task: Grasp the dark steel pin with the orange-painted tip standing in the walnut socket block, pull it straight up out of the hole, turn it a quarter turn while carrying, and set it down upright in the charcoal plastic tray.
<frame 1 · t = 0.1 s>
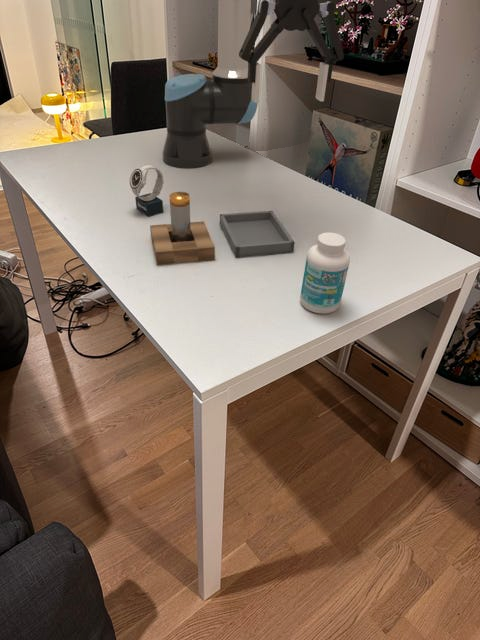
hand: (287, 100, 92), 28 cm above the table, fingers open, 13 cm apart
watch: (149, 211, 114), on the table
pill bottle: (319, 304, 86), on the table
tray: (254, 237, 105), on the table
pin: (180, 223, 96), in the socket block
socket block: (181, 248, 100), on the table
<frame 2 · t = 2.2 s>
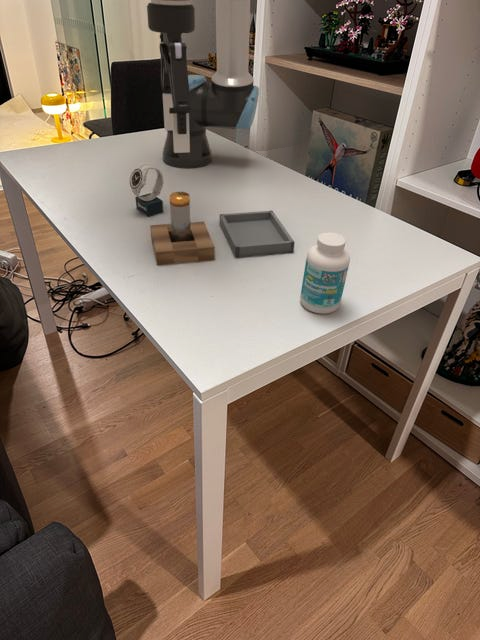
hand: (176, 140, 86), 23 cm above the table, fingers open, 13 cm apart
nothing on the table moved.
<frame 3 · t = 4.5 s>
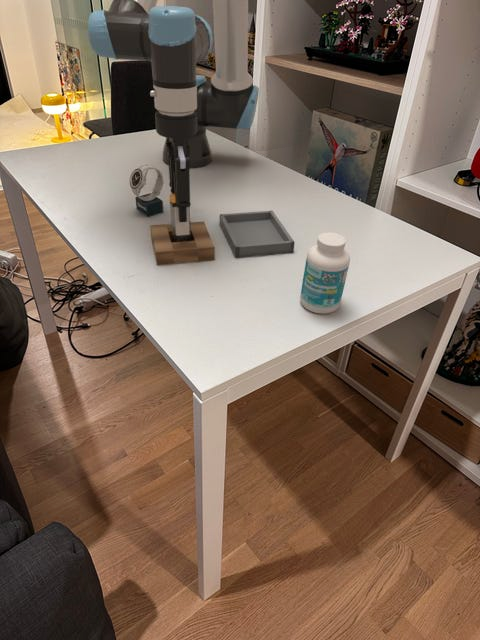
hand: (181, 228, 97), 5 cm above the table, fingers closed on pin, 4 cm apart
pin: (180, 223, 96), in the socket block, touching gripper
everything else where it was.
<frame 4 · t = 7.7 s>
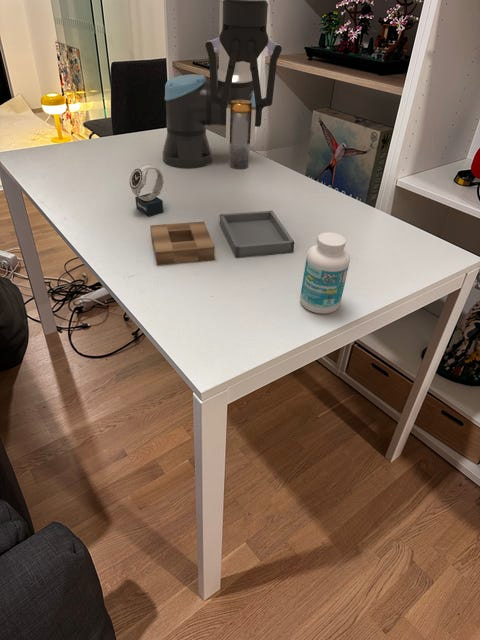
hand: (240, 142, 91), 21 cm above the table, fingers closed on pin, 4 cm apart
pin: (240, 135, 90), point 23 cm above the table, touching gripper
everything else where it was.
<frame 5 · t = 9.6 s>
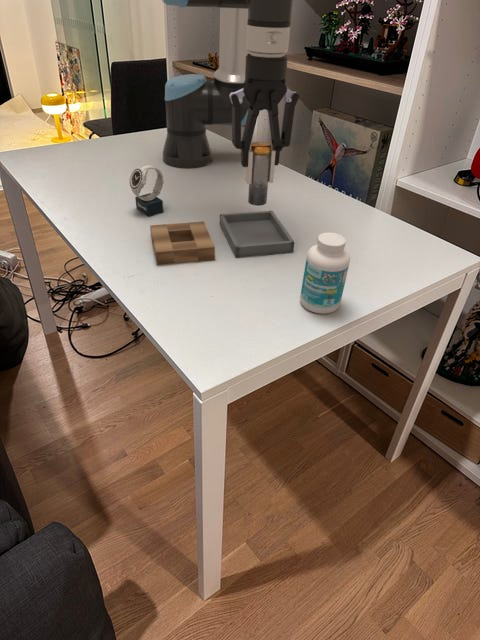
hand: (258, 180, 97), 13 cm above the table, fingers closed on pin, 4 cm apart
pin: (259, 174, 96), point 15 cm above the table, touching gripper
everything else where it was.
when the fingers open (6 cm above the table, at t = 11.2 s): pin stays where it is, resting on tray.
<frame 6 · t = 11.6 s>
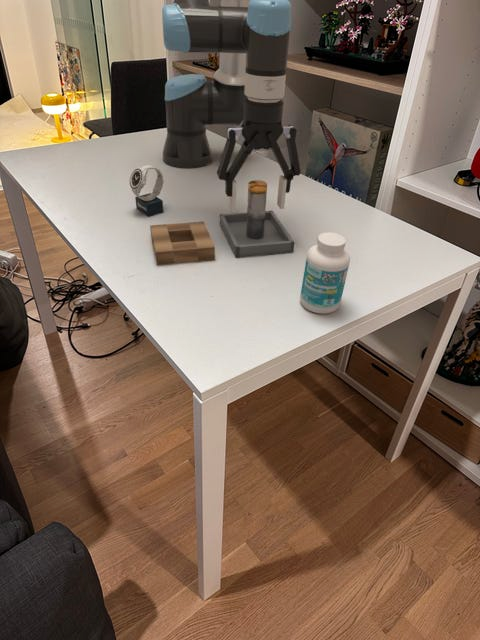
hand: (256, 208, 101), 7 cm above the table, fingers open, 10 cm apart
pin: (256, 210, 101), in the tray, point 7 cm above the table
everything else where it was.
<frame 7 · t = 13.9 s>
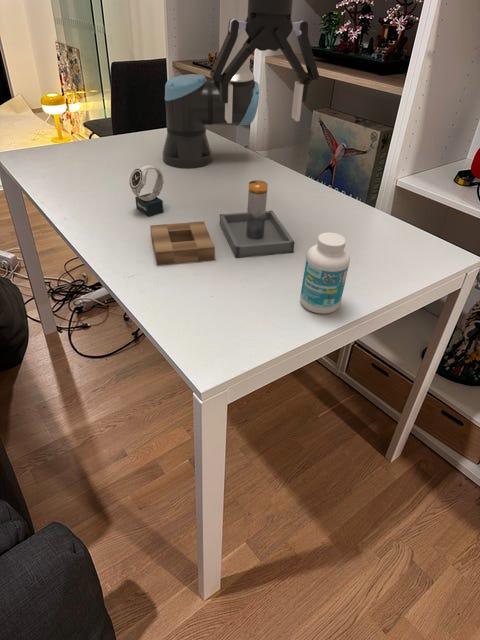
hand: (262, 120, 90), 25 cm above the table, fingers open, 13 cm apart
nothing on the table moved.
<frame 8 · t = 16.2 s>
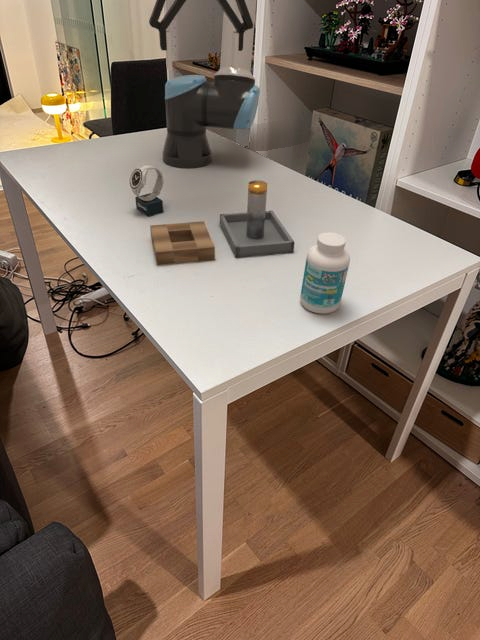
hand: (202, 69, 95), 32 cm above the table, fingers open, 13 cm apart
nothing on the table moved.
at the end: pin inside the target area on the tray (0.0 cm from its centre), point 6.6 cm above the tray's base; pin touching tray; the gripper is holding nothing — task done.
